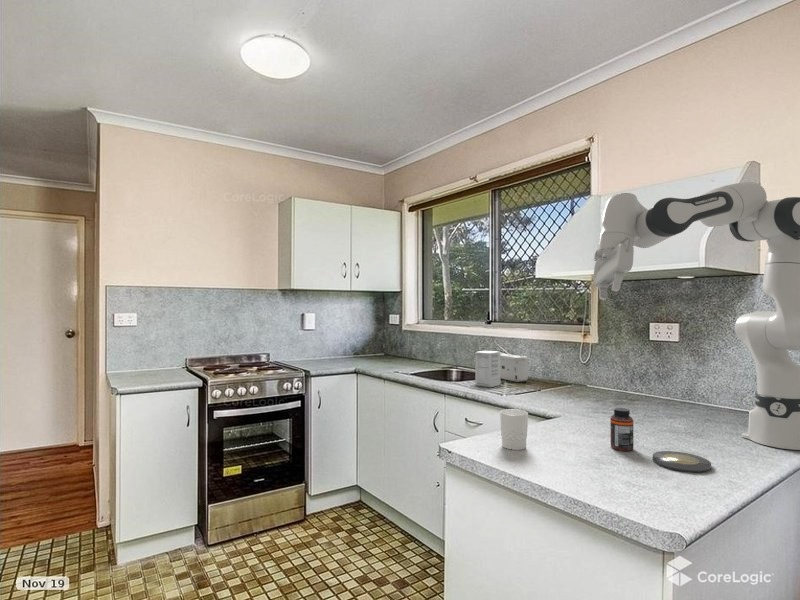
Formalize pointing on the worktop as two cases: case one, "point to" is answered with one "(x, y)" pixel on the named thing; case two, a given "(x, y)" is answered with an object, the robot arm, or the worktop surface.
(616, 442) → the supplement bottle
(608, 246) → the robot arm
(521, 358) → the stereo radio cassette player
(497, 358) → the supplement box
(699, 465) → the grey flat disc
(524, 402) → the worktop surface
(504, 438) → the white cup
